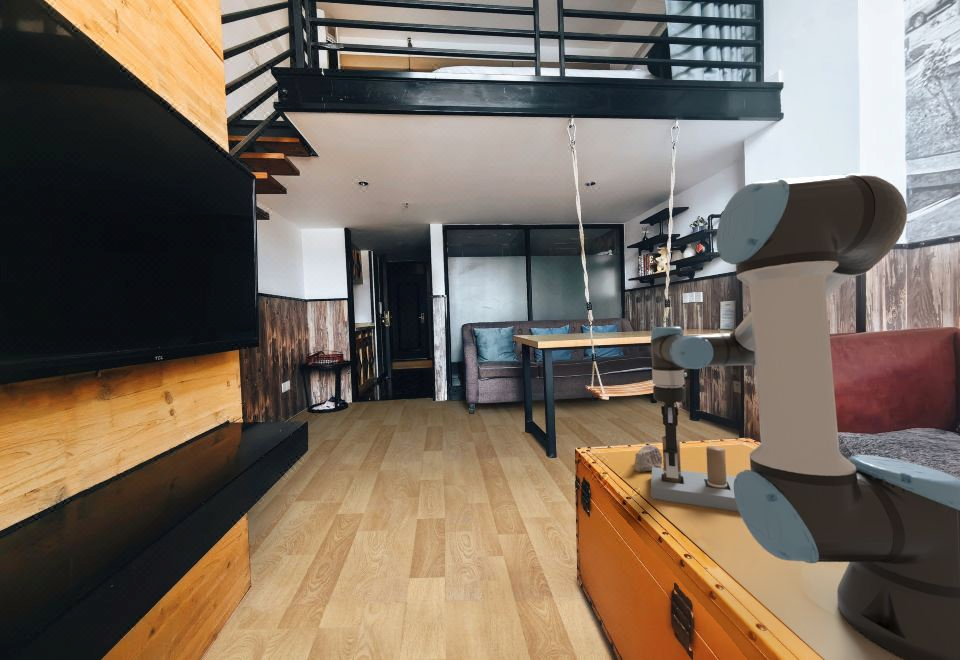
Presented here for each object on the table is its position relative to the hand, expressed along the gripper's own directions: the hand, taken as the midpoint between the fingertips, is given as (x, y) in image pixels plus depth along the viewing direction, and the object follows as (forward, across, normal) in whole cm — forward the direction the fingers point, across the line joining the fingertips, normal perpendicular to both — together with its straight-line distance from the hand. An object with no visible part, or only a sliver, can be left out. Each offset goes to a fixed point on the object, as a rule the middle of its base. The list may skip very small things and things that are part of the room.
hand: (672, 473), depth 98 cm
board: (+4, 0, -5) cm, 7 cm away
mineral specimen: (+5, +15, +6) cm, 17 cm away
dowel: (+3, 0, 0) cm, 3 cm away
